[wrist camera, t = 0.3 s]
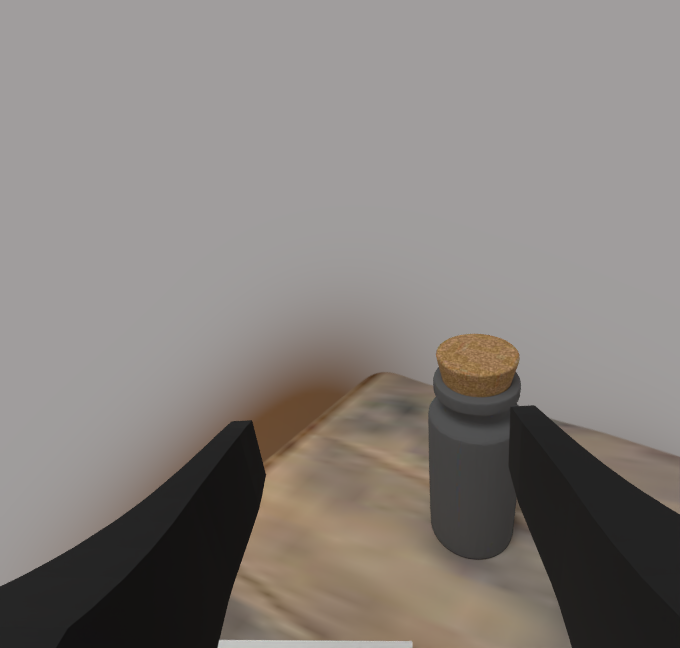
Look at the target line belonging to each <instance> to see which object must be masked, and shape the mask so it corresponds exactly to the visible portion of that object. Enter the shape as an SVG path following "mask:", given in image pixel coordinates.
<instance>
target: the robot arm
mask: <svg viewBox="0 0 680 648" xmlns="http://www.w3.org/2000/svg"><path fill="white" fill-rule="evenodd" d="M508 467H509V470H510V474H511V478H512V482H513V486H514V489H515V493H516V496H517V500H518V503H519V505H520V508H521V510H522V513H523V515H524V518H525V520H526V523H527V525H528V528H529V530H530V533H531V535H532V537H533V540H534V542H535V545H536V547H537V550H538V552H539V554H540V557H541V559H542V562H543V564H544V567H545V569H546V572H547V574H548V576H549V579H550V581H551V584H552V586H553V589H554V592H555V595H556V597H557V600H558V603H559V606H560V609H561V613H562V616H563V619H564V623H565V626H566V629H567V632H568V636H569V639H570V642H571V645H572V648H680V514H678V513H676V512H675V511H673V510H671V509H670V508H668V507H666V506H665V505H663V504H662V503H660V502H659V501H657V500H655V499H654V498H652V497H651V496H649V495H647V494H646V493H644V492H643V491H641V490H640V489H638V488H637V487H635V486H634V485H632V484H631V483H629V482H628V481H627V480H625V479H624V478H622V477H621V476H620V475H618V474H617V473H616V472H614V471H613V470H611V469H610V468H609V467H607V466H606V465H605V464H603V463H602V462H601V461H599V460H598V459H597V458H596V457H594V456H593V455H592V454H591V453H589V452H588V451H587V450H586V449H584V448H583V447H582V446H581V445H579V444H578V443H577V442H576V441H575V440H574V439H572V438H571V437H570V436H569V435H568V434H567V433H565V432H564V431H563V430H562V429H561V428H560V427H558V426H557V425H556V424H555V423H554V422H553V421H552V420H551V419H549V418H548V417H547V416H546V415H545V414H544V413H543V412H541V411H540V410H539V409H538V408H537V407H536V406H514V407H510V435H509V463H508ZM265 477H266V473H265V469H264V466H263V462H262V458H261V454H260V450H259V446H258V442H257V438H256V434H255V430H254V426H253V422H252V420H250V421H233V422H231V423H230V424H228V425H227V426H226V427H225V428H224V429H223V430H222V431H221V432H220V433H219V434H217V435H216V436H215V437H214V439H212V440H211V441H210V442H209V443H208V444H207V445H206V446H205V447H204V448H203V449H202V450H201V451H200V452H198V453H197V454H196V455H195V456H194V457H193V458H192V459H191V460H190V461H189V462H188V463H187V464H186V465H185V466H183V467H182V468H181V469H180V470H179V471H178V472H176V473H175V474H174V475H173V476H172V477H171V478H170V479H168V480H167V481H166V482H165V483H164V484H163V485H161V486H160V487H159V488H158V489H157V490H155V491H154V492H153V493H152V494H151V495H149V496H148V497H147V498H146V499H144V500H143V501H142V502H140V503H139V504H138V505H136V506H135V507H134V508H132V509H131V510H130V511H128V512H127V513H125V514H124V515H123V516H121V517H120V518H119V519H117V520H116V521H114V522H113V523H111V524H110V525H108V526H107V527H105V528H103V529H102V530H100V531H99V532H97V533H96V534H94V535H92V536H91V537H89V538H88V539H87V540H85V541H83V542H82V543H80V544H79V545H77V546H75V547H74V548H72V549H70V550H68V551H67V552H65V553H63V554H61V555H60V556H58V557H56V558H55V559H53V560H51V561H49V562H47V563H45V564H44V565H42V566H40V567H38V568H36V569H34V570H32V571H31V572H29V573H27V574H25V575H23V576H21V577H19V578H17V579H15V580H13V581H11V582H9V583H7V584H5V585H2V586H0V648H218V643H219V639H220V635H221V631H222V626H223V622H224V618H225V614H226V609H227V605H228V601H229V598H230V595H231V591H232V588H233V584H234V581H235V579H236V576H237V573H238V570H239V567H240V564H241V561H242V558H243V555H244V552H245V549H246V546H247V543H248V541H249V538H250V535H251V532H252V529H253V526H254V523H255V520H256V517H257V514H258V511H259V507H260V502H261V498H262V493H263V488H264V482H265Z"/></svg>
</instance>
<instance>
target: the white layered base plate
mask: <svg viewBox="0 0 680 648" xmlns="http://www.w3.org/2000/svg"><path fill="white" fill-rule="evenodd" d="M218 648H413V647H412V641H301V640H219V643H218Z"/></svg>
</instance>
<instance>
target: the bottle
mask: <svg viewBox="0 0 680 648" xmlns="http://www.w3.org/2000/svg"><path fill="white" fill-rule="evenodd" d="M436 357H437V361H438V365H439V368H438V369H437V370H436V372H435V374H434V378H433V386H434V393H435V395H436V397H435V398H434V399H433V401H432V402H431V404H430V407H429V413H428V423H429V474H430V509H431V523H432V528H433V530H434V533H435V535H436V537H437V538H438V540H439V541H440V542H441V543H442V544H443V545H444V546H445V547H446V548H447V549H449V550H450V551H452V552H454V553H455V554H457V555H460V556H463V557H466V558H470V559H485V558H490V557H493V556H495V555H498V554H499V553H501V552H502V551H503V550H504V549H505V548H506V547H507V546H508V544H509V542H510V540H511V536H512V531H513V524H514V516H515V506H516V497H517V496H516V493H515V489H514V486H513V482H512V478H511V474H510V470H509V467H508V463H509V435H510V407H514V406H518V405H517V402H518V400H519V397H520V390H521V383H520V378H519V376H518V374H517V373H516V372H515V371H516V369H517V366H518V363H519V353H518V351H517V349H516V348H515V347H514V346H513V345H512V344H510V343H508V342H507V341H505V340H503V339H501V338H498V337H494V336H490V335H484V334H465V335H459V336H455V337H452V338H449V339H448V340H446V341H444V342H443V343H442V344H440V346H439V347H438V349H437V352H436Z"/></svg>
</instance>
